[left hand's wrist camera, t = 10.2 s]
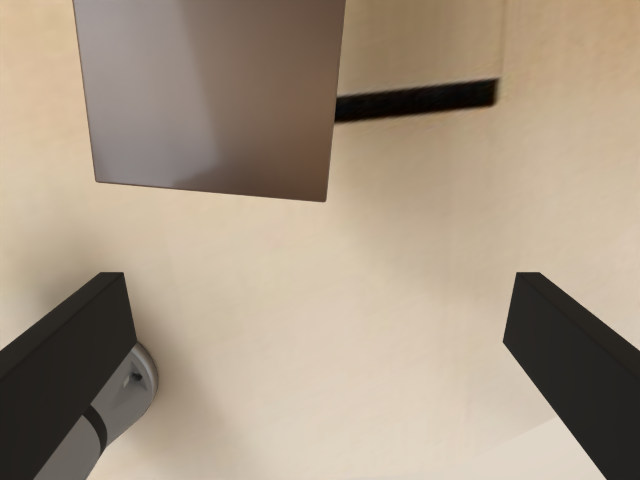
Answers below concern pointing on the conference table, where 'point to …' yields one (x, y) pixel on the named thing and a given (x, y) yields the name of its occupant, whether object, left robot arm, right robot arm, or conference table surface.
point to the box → (212, 93)
